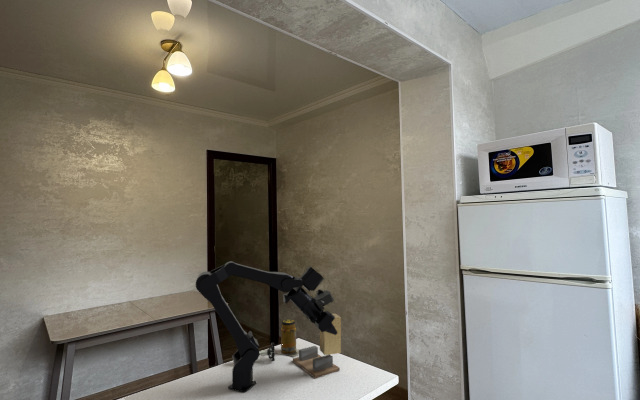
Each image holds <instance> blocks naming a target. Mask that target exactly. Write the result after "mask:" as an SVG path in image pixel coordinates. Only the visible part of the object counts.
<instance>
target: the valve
mask: <svg viewBox="0 0 640 400" xmlns="http://www.w3.org/2000/svg"><path fill="white" fill-rule="evenodd" d="M259 353H260V354H259V356H261V357H262V356H265V355H266V356H268V358H269V359H271V362H275V360H276V358H275V355H276V354H275V342H271V345H270V347H268V348H267V350H259Z"/></svg>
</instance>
